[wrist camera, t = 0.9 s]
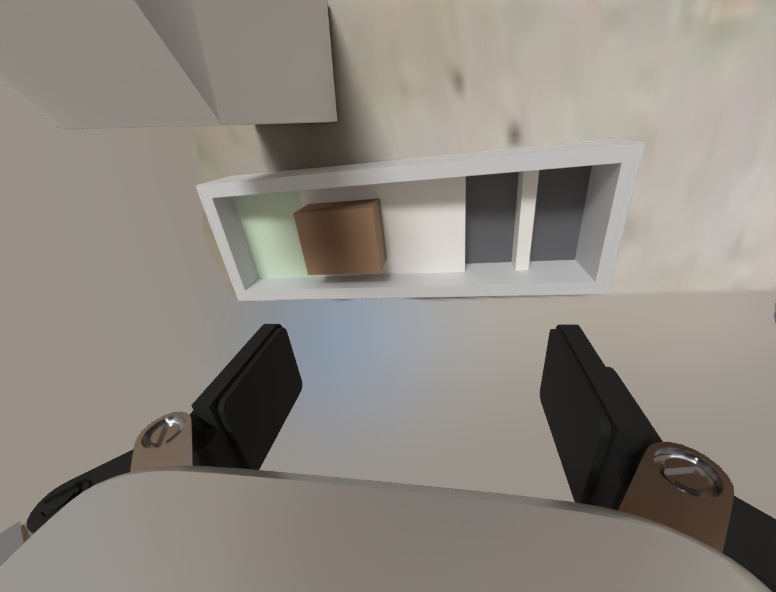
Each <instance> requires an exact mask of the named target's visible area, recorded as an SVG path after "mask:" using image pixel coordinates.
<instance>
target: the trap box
mask: <svg viewBox="0 0 776 592" xmlns="http://www.w3.org/2000/svg"><path fill="white" fill-rule="evenodd" d="M644 145H645V143H644V142H636V141H627V140H619V139H611V138H610V139H600V140H590V141H580V142H570V143H560V144H549V145H539V146H529V147H519V148H509V149H499V150H489V151H479V152H469V153H459V154H449V155H439V156H428V157H418V158H408V159H398V160H388V161H378V162H368V163H358V164H348V165H338V166H328V167H318V168H307V169H297V170H287V171H277V172H267V173H257V174H247V175H237V176H229V177H225V178H221V179H218V180H214V181H210V182H207V183H203V184H199V185H196V188H197V190H198V194H199V196H200V199H201V202H202V204H203V207H204V210H205V212H206V215H207V218H208V220H209V223H210V226H211V228H212V231H213V234H214V236H215V239H216V242H217V245H218V247H219V250H220V253H221V255H222V258H223V261H224V263H225V266H226V269H227V271H228V274H229V277H230V279H231V282H232V285H233V288H234V290H235V293H236V296H237V298H238V301H252V300H307V299H360V298H361V299H362V298H417V297H472V296H527V295H582V294H608V291H609V287H610V283H611V279H612V275H613V271H614V267H615V263H616V259H617V255H618V251H619V246H620V242H621V238H622V234H623V230H624V226H625V222H626V218H627V214H628V210H629V206H630V202H631V198H632V194H633V190H634V186H635V181H636V177H637V173H638V169H639V165H640V161H641V157H642V153H643V149H644ZM367 199H380V202H381V211H382V220H383V229H384V237H385V246H386V255H387V259H386V262H385V264H384V266H383V269H382V271H381V273H362V274H332V275H308V273H307V269H306V265H305V260H304V256H303V252H302V248H301V244H300V240H299V236H298V232H297V228H296V224H295V220H294V215H293V213H295V212H296V211H298V210H299V209H301V208H303V207H304V206H306V205H307V204H316V203H328V202H341V201H354V200H367Z"/></svg>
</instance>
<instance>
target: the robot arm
mask: <svg viewBox="0 0 776 592" xmlns="http://www.w3.org/2000/svg"><path fill="white" fill-rule="evenodd" d="M774 317H775V321H776V304H775V314H774ZM301 389H302V380H301V376H300V373H299V370H298V366H297V363H296V360H295V357H294V353H293V350H292V347H291V343H290V340H289V337H288V333H287V331H286V329H285V328H283V327H282V326H281V325H280V324H264V325H263V326H261V328H260V329H259V330H258V331H257V332H256V333H255V334H254V335H253V337H252V338H251V339H250V340H249V341H248V342H247V344H245V346H244V347H243V348H242V349H241V350H240V351H239V352H238V353H237V355H236V356H235V357H234V358H233V359H232V360H231V362H229V364H228V365H227V366H226V367H225V368H224V369H223V370H222V371H221V373H220V374H219V375H218V376H217V377H216V378H215V379H214V381H213V382H212V383H211V384H210V385H209V386H208V387H207V388H206V389H205V391H204V392H203V393H202V394H201V395H200V396H199V397H198V398H197V400H196V401H195V402H194V403H193V404H192V405H191V406H192V408H193V411H192V413H191V414H190V415H189V414H187V413H185V412H173V413H170V414H167V415H164V416H162V417H160V418H158V419H156V420H155V421H153V422H152V423H150V424H149V425H148V426H147V427H146V428H145V429H143V431H142V432H141V433H140V434H139V436H138V437H137V439H136V442H135V445H134V449H133V450H131V451H129V452H127V453H125V454H123V455H121V456H119V457H117V458H115V459H113V460H111V461H109V462H106V463H104V464H102V465H100V466H98V467H96V468H94V469H92V470H90V471H88V472H86V473H84V474H82V475H80V476H78V477H76V478H74V479H72V480H69V481H68V482H66V483H64V484H62V485H60V486H59V487H57V488H56V489H54V490H53V491H51V492H50V493H49V494H48V495H47V496H45V498H43V499H42V500H41V501H40V502H39V503H38V504H37V505H36V507H35V508H34V509H33V511H32V512H31V514H30V516H29V518H28V520H27V523H25V524H24V525H23V524H22V523H21V522H20V521H19V522H17V523H16V524H14V525H13V526H11V527H10V528H8V529H6V530H5V531H3V532H2V533H0V592H776V519H774V518H772V517H771V516H769V515H767V514H765V513H764V512H762V511H760V510H758V509H756V508H755V507H753V506H751V505H750V504H748V503H746V502H744V501H742V500H741V499H739V498H737V497H736V496H734V487H733V484H732V482H731V480H730V479H729V477H728V475H727V474H726V473H725V472H724V471H723V470H722V469H721V467H720V466H719V465H717V464H716V463H715V462H714V461H712V460H711V459H710V458H708V457H707V456H705V455H704V454H702V453H700V452H698V451H696V450H695V449H692V448H689V447H687V446H684V445H682V444H677V443H672V442H663V441H662V440H661V438H660V437H659V436H658V434H657V432H656V431H655V429H654V428H653V427H652V425H651V423H650V422H649V420H648V419H647V418H646V416H645V414H644V413H643V412H642V410H641V409H640V407H639V406H638V404H637V403H636V401H635V400H634V398H633V397H632V395H631V394H630V392H629V391H628V389H627V388H626V386H625V385H624V383H623V382H622V380H621V379H620V377H619V376H618V374H617V373H616V372H615V371H614V369H612V368H611V367H605V365H604V364H603V362H602V360H601V359H600V357H599V356H598V354H597V353H596V351H595V350H594V348H593V346H592V345H591V343H590V342H589V340H588V339H587V337H586V336H585V334H584V332H583V331H582V329H581V328H580V326H579V325H557V327H556V329H551V330H550V333H549V339H548V345H547V351H546V358H545V363H544V369H543V376H542V382H541V388H540V399H541V403H542V406H543V409H544V412H545V415H546V418H547V421H548V424H549V427H550V430H551V433H552V436H553V439H554V442H555V445H556V448H557V451H558V454H559V457H560V459H561V463H562V466H563V469H564V472H565V475H566V477H567V481H568V484H569V487H570V490H571V492H572V495H573V498H574V501H575V503H574V502H568V501H560V500H553V499H544V498H536V497H527V496H519V495H510V494H501V493H491V492H482V491H471V490H461V489H452V488H442V487H432V486H422V485H412V484H402V483H392V482H381V481H371V480H359V479H350V478H340V477H328V476H319V475H307V474H296V473H284V472H274V471H263V470H259V469H260V467H261V465H262V463H263V461H264V460H265V458H266V456H267V454H268V452H269V450H270V448H271V447H272V444H273V443H274V441H275V439H276V437H277V435H278V433H279V432H280V430H281V428H282V426H283V424H284V422H285V420H286V418H287V416H288V415H289V413H290V411H291V409H292V407H293V405H294V403H295V401H296V400H297V398H298V396H299V394H300V392H301Z"/></svg>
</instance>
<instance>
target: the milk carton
mask: <svg viewBox="0 0 776 592" xmlns="http://www.w3.org/2000/svg"><path fill="white" fill-rule="evenodd" d="M0 83H1V84H2V85H4V86H5V87H6V88H7V89H9V90H10V91H11V92H13V93H14V94H15V95H17V96H18V97H19V98H20V99H22V100H23V101H24V102H26V103H27V104H28V105H29V106H31V107H32V108H33V109H34V110H36V111H37V112H38V113H40V114H41V115H42V116H44V117H45V118H46V119H47V120H49V121H50V122H51V123H52V124H54V125H55V126H56V127H58V128H62V129H98V128H99V129H100V128H140V127H141V128H143V127H184V126H221V125H253V124H285V123H317V122H336V121H337V111H336V99H335V87H334V76H333V64H332V52H331V41H330V29H329V17H328V6H327V0H0Z"/></svg>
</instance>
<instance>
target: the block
mask: <svg viewBox="0 0 776 592" xmlns="http://www.w3.org/2000/svg"><path fill="white" fill-rule="evenodd" d="M293 215H294V220H295V224H296V228H297V232H298V236H299V240H300V244H301V248H302V252H303V256H304V260H305V265H306V269H307V273H308V275H332V274H362V273H381V271H382V269H383V266H384V264H385V262H386V259H387V255H386V246H385V237H384V229H383V220H382V211H381V202H380V199H367V200H354V201H341V202H328V203H316V204H307V205H306V206H304V207H303V208H301V209H299V210H298V211H296V212H295V213H293Z"/></svg>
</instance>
